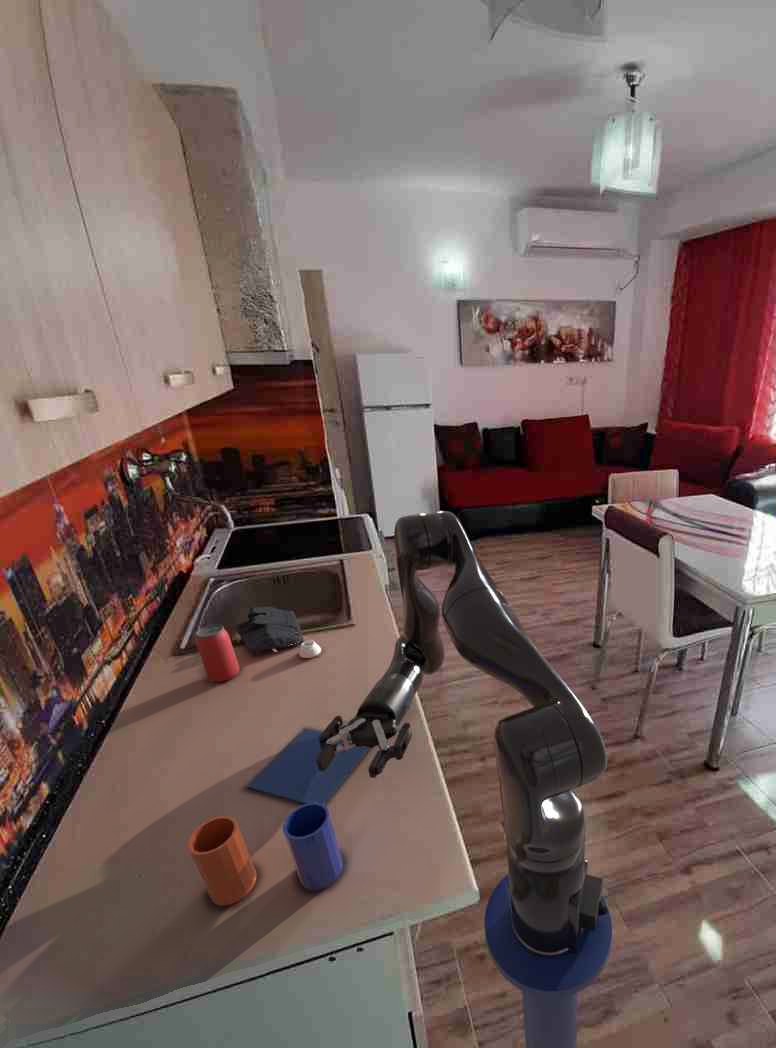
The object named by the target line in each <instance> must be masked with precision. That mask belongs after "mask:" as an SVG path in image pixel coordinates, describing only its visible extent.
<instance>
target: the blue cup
mask: <svg viewBox="0 0 776 1048" xmlns="http://www.w3.org/2000/svg"><path fill="white" fill-rule="evenodd" d="M333 824H334V823H333V821H332V817H331V814H330V810H329V808H328V807H327V806H326V805H325V804H321V803H317V802H315V803H307V804H304V803H303V804H302V805H300V806H298V807H296V808H295V809H294V810H292V811H291V812H290V813H289V814H288V815H287V816H286V817H285V819H284V822H283V824H282V830H283V834H284V838H285V840H286V844H287V847H288V850H289V853H290V856H291V858H292V861H293V865H294V867H295V870H296V873H297V877H298V879H299V881H300V883H301V885H302V886H303V888H305V889H307V890H309V891H320V890H323V889H325V888H327V887H329V886H331V885H332V884H333V883H335V882H336V881H337V879H338V878H339V877H340V875H341V874H342V871H343V867H344V861H343V857H342V854H341V850H340V847H339V842H338V839H337V835H336V832H335V827H334V825H333Z"/></svg>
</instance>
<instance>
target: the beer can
mask: <svg viewBox="0 0 776 1048" xmlns="http://www.w3.org/2000/svg"><path fill="white" fill-rule="evenodd" d="M195 636H196V637H195V644H196V645H195V646H196V647H197V650H198V653H199V655H200V658H201V662H202V664H203V667H204V670H205V672H206V675H207V678H208V680H209V681H211V682H213V683H223V682H226V681H229V680H231V679H233V678H235V677H236V676H238V674H239V673H240V668H241V667H240V665H239V661H238V658H237V656H236V653H235V650H234V647H233V643H232V641H231V638H230V634H229V633H228V631H227V630H226V629H225V628H224V626H223V624H210V625H206V626H203V627H201V628H200V629H198V630H197V631H196V632H195Z"/></svg>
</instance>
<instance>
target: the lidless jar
mask: <svg viewBox="0 0 776 1048" xmlns="http://www.w3.org/2000/svg"><path fill="white" fill-rule="evenodd" d="M320 653H322V648H321V647H320V645H318V643H317V642H315V640H313V639H309V640H305V641H303V642H302V643H301V646H300V648H299V653H298V655H299V657H300V658H302V659H310V658H313V657H316V656H319V654H320Z"/></svg>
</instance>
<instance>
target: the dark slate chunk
mask: <svg viewBox="0 0 776 1048" xmlns="http://www.w3.org/2000/svg"><path fill="white" fill-rule="evenodd" d="M248 611H249V612H248V613H247V618H248V620H246V621H243V622H241V623H238V624H235V629H236V631H237V633H238V635H239V637H240V639H241V641H242V642H243V643H244V645H245V647H246V650H248V652H250V653H251V654H258V653H262V652H267V651H271V650H270V649H272V650H275V649H277V650H278V649H281V648H280V647H283V648H288V647H294V646H296V645H300V644H302V643H303V642H305V641H304V636H303V632H302V629H301V626H300V624H299V619H298V618H297V615H296V613H295V612H294V611H293V610H287V609H286V610H282V609H278V608H277V607H272V606H260V607H258V606H253V607H250V608H249V610H248ZM295 630H298V634H299V636H300V638H301V639H302V640H301V639H299V637H298V636H297V635H294V634H293V633H294V632H295ZM300 640H301V641H300ZM298 641H300V642H298ZM297 642H298V643H297ZM295 643H296V644H295ZM290 644H293V645H290ZM288 645H289V646H288ZM285 646H287V647H285ZM266 650H267V651H266ZM261 651H262V652H261ZM256 652H258V653H256Z"/></svg>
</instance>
